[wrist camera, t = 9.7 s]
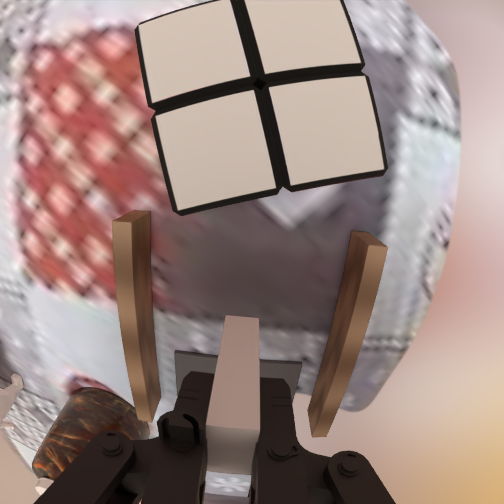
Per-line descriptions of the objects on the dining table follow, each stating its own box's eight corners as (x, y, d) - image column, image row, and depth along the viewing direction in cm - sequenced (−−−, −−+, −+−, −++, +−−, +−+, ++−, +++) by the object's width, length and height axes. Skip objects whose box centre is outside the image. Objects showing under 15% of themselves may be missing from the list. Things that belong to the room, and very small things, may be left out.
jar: (56, 383, 30) (1, 463, 15) (129, 388, 29) (80, 496, 15) (94, 440, 33) (60, 515, 19) (163, 448, 33) (139, 540, 18)
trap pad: (291, 403, 29) (291, 406, 29) (178, 393, 29) (177, 396, 28) (301, 362, 27) (302, 364, 27) (175, 350, 27) (174, 352, 27)
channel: (320, 410, 29) (326, 436, 26) (148, 394, 29) (137, 419, 25) (368, 232, 23) (387, 247, 19) (133, 210, 23) (112, 221, 19)
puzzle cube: (336, 166, 22) (392, 175, 12) (207, 192, 23) (172, 220, 13) (307, 45, 19) (338, -18, 9) (179, 71, 20) (130, 23, 10)
